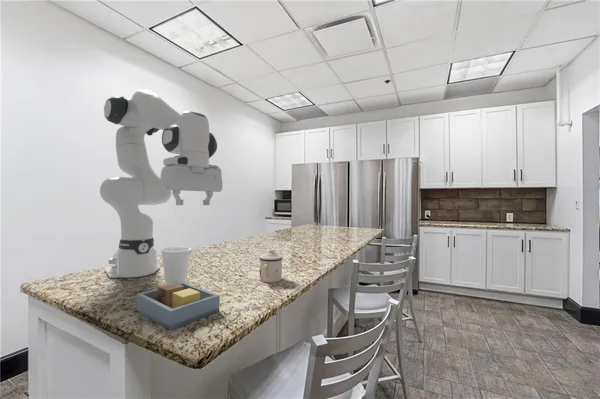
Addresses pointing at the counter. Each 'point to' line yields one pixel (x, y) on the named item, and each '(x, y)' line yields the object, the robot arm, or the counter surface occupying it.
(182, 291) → the mustard block
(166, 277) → the foam cup
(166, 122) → the robot arm
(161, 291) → the walnut block
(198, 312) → the tray
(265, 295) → the counter surface
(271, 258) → the teacup with lid
